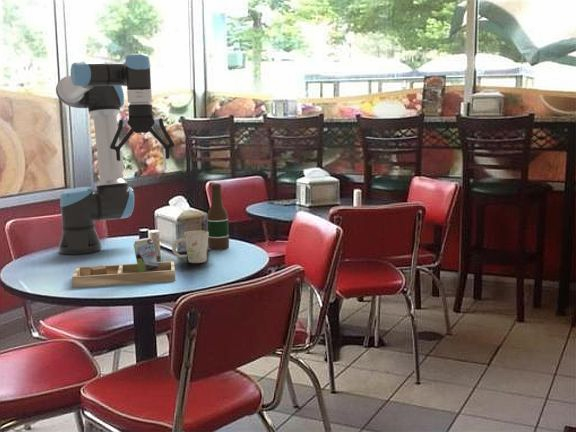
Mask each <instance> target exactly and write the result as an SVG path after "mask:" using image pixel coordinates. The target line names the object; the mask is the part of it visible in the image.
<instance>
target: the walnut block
mask: <svg viewBox="0 0 576 432" xmlns="http://www.w3.org/2000/svg"><path fill="white" fill-rule="evenodd" d="M104 266H105V265H94V267H90V275H105V274H107V269H106V267H104Z"/></svg>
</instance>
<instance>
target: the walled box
mask: <svg viewBox="0 0 576 432" xmlns="http://www.w3.org/2000/svg"><path fill="white" fill-rule="evenodd" d="M157 264H158V269H159V271H151V272H139V270H138V265H137V263H124V264H121V263H120V264H110V265H109V264H108V265H107V264H106V265H103V266H104V267H106V269H107V274H105V275H90V267H94V266H95V265H94V266H90V265H89V266H77V267H76V269H75V271H74V272H73V274H72V277H71V282H72V288H81V287H82V288H84V287H85V288H86V287H97V286H99V287H100V286H113V285H115V286H116V285H127V284H129V285H130V284H143V283H144V284H145V283H158V282H159V283H160V282H171V281H172V282H173V281H176V270H175V267H176V266H175V261H174V260H171V261H170V260H169V261H157Z"/></svg>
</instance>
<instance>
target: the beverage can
mask: <svg viewBox="0 0 576 432" xmlns="http://www.w3.org/2000/svg"><path fill="white" fill-rule="evenodd" d="M155 248H156V247H155V244H154V241H153V240H152V238H151V237H145V238H144V237H143V238H139V239H135V240H134V244H133V249H134V253H135V254H134V255H135V259H136V264H137V265H138V270H139V272H151V271H159V269H158V264H157V262H158V260H157V254H156V249H155Z"/></svg>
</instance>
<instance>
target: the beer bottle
mask: <svg viewBox="0 0 576 432" xmlns="http://www.w3.org/2000/svg"><path fill="white" fill-rule="evenodd" d="M210 187H211V204H210V207H209V209H208V211H207V214H206V225H207V228H206V229H207V231H208V233H209V234H208V246H207V248H208V249H210V250H212V251H221V250H226V249H229V247H230V233H229V230H230V229H229V215H228V211H227V209H226V208H225V206H224V205H223V204H224V203H223V198H222V197H223V196H222V189H221V188H222V184H221V183H213V184H211V185H210Z"/></svg>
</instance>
